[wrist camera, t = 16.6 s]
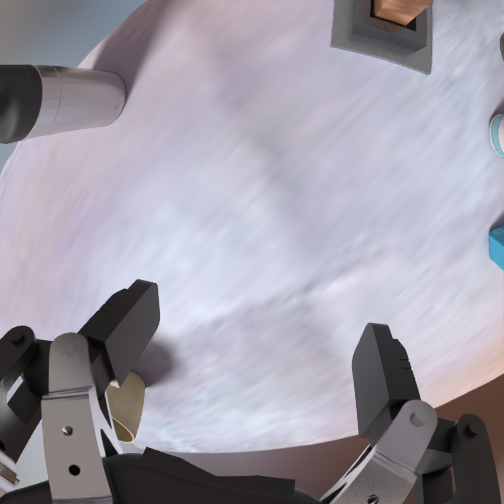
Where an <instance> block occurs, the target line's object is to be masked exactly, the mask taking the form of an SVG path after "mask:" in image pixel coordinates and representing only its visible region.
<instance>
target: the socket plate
mask: <svg viewBox="0 0 504 504" xmlns="http://www.w3.org/2000/svg"><path fill="white" fill-rule="evenodd" d="M330 47H333V48H338V49H343V50H348V51H352V52H356V53H360V54H364V55H368V56H372V57H375V58H379V59H382V60H386V61H389V62H392V63H395V64H398V65H402V66H404V67H407V68H410V69H413V70H416V71H419V72H421V73H424V74H426V75H429V74H430V72H431V53H432V11H431V4H430V5H429V6H428V7H427V8H425V9H424V10H423V11H422V12H421V13H419V14H418V15H417V16H416V17H415V18H414V19H412V20H411V21H410V22H409V23H408V24H407V25H405V26H404V27H401V26H398V25H395V24H392V23H389V22H386V21H382V20H379V19H376V18H372V17H371V0H334V12H333V24H332V34H331V44H330Z"/></svg>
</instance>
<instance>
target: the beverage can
mask: <svg viewBox="0 0 504 504" xmlns="http://www.w3.org/2000/svg"><path fill="white" fill-rule="evenodd" d="M489 136H490V141H491V144H492V147H493V149H494V150H495V152H496V153H497V154H498V155H499V156H501V157H503V158H504V114H497V115H496V116H494V117H493V119H492V121H491V123H490V128H489Z"/></svg>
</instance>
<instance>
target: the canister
mask: <svg viewBox="0 0 504 504" xmlns="http://www.w3.org/2000/svg"><path fill="white" fill-rule="evenodd" d="M500 49H501V53H502V57H503V60H504V34H503V35H502V37H501V40H500Z"/></svg>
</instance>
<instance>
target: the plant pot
mask: <svg viewBox="0 0 504 504" xmlns="http://www.w3.org/2000/svg"><path fill="white" fill-rule="evenodd" d="M106 393H107V398H108V403H109V407H110V412H111V417H112V421H113V425H114V429H115V433H116V436H117V439H118V441H121V442H125V443H132V442H134V440H135V437H136V434H137V430H138V427H139V423H140V419H141V414H142V409H143V403H144V395H145V383H144V381H143V379H142V378H141V377H140V376H139V375H137V374H136V373H134V372H132V371H130V372H129V374H128V376H127V377H126V379H125V381H124V382H123V384H122V385H121V387H120V388H117V387H115V386H113V385H110V384H109V386H108V387H107V389H106Z"/></svg>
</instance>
